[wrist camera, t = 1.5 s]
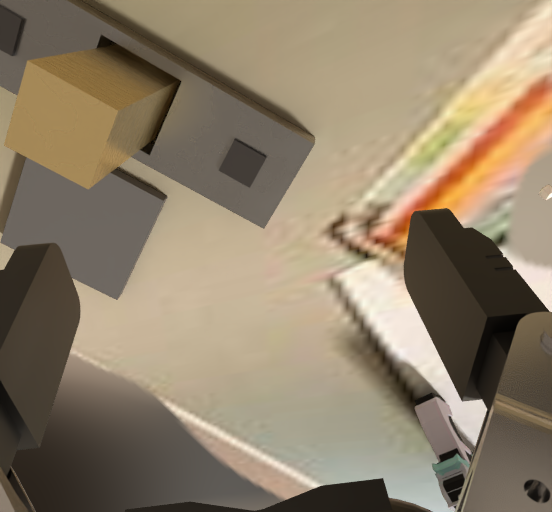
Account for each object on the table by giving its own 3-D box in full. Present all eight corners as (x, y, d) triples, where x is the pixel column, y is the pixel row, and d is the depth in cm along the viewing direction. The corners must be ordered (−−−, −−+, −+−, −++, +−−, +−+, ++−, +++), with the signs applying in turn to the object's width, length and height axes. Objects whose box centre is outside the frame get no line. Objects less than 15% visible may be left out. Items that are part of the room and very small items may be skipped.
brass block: (96, 105, 34) (3, 145, 24) (118, 44, 32) (27, 60, 22) (155, 138, 35) (88, 189, 25) (180, 80, 33) (118, 110, 23)
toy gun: (479, 458, 51) (524, 566, 43) (405, 391, 42) (447, 514, 34) (499, 450, 50) (549, 558, 43) (428, 380, 41) (476, 503, 33)
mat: (7, 237, 39) (0, 242, 38) (41, 128, 35) (33, 132, 34) (121, 293, 41) (117, 299, 40) (167, 196, 37) (163, 201, 36)
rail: (-44, 48, 33) (-68, 51, 31) (-22, -60, 30) (-47, -65, 28) (266, 218, 37) (263, 230, 35) (315, 137, 34) (314, 145, 32)
